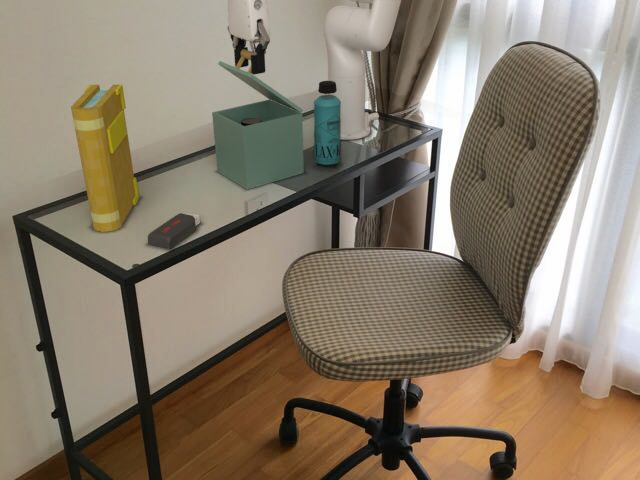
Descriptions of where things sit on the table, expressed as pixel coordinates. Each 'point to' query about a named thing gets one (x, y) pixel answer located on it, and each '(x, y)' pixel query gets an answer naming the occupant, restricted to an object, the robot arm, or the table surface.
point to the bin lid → (257, 82)
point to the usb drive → (174, 230)
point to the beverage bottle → (327, 125)
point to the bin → (258, 143)
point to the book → (105, 155)
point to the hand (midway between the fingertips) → (250, 69)
